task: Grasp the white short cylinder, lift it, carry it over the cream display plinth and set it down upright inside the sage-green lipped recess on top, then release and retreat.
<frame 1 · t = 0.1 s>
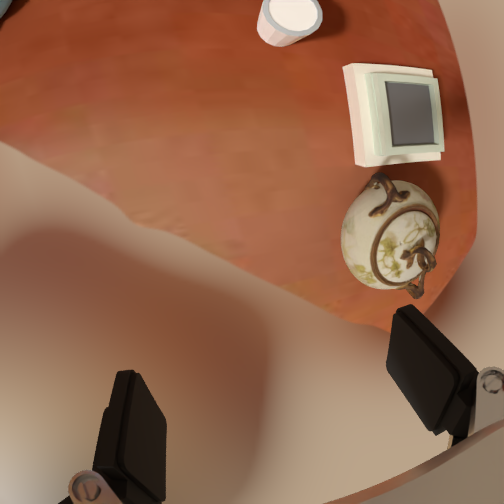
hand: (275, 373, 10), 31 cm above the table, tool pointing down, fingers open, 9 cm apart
sugar bowl: (369, 221, 44), on the table
white short cylinder: (278, 28, 31), on the table
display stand: (391, 113, 37), on the table
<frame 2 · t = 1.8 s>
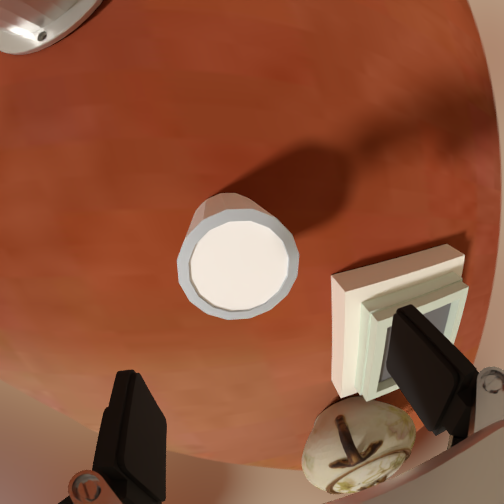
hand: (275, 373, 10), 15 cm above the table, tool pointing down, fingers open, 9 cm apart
sugar bowl: (342, 414, 36), on the table
white short cylinder: (227, 228, 23), on the table
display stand: (391, 316, 30), on the table
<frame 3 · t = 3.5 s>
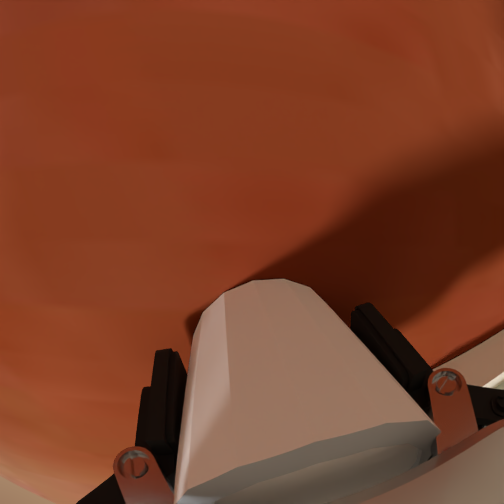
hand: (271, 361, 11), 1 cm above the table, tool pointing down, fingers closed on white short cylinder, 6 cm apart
white short cylinder: (264, 338, 12), on the table, touching gripper
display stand: (462, 401, 18), on the table
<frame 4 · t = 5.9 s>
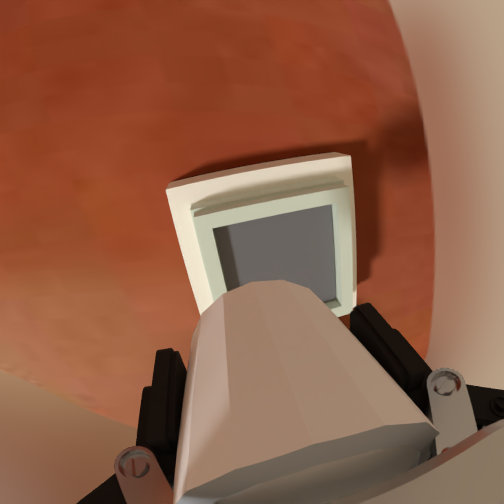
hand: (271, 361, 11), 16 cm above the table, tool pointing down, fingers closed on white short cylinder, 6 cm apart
white short cylinder: (263, 339, 12), point 15 cm above the table, touching gripper
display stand: (268, 243, 27), on the table
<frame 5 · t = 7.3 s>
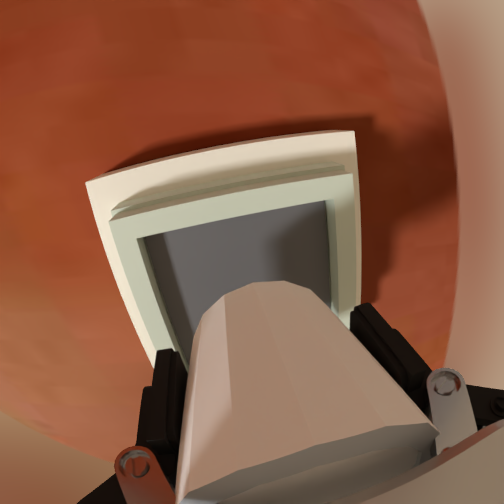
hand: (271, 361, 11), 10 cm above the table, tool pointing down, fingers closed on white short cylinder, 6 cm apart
white short cylinder: (264, 340, 12), point 8 cm above the table, touching gripper
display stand: (238, 256, 19), on the table
when the fingers open (7 cm above the table, at t = 8.3 s): white short cylinder drops 1 cm, resting on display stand.
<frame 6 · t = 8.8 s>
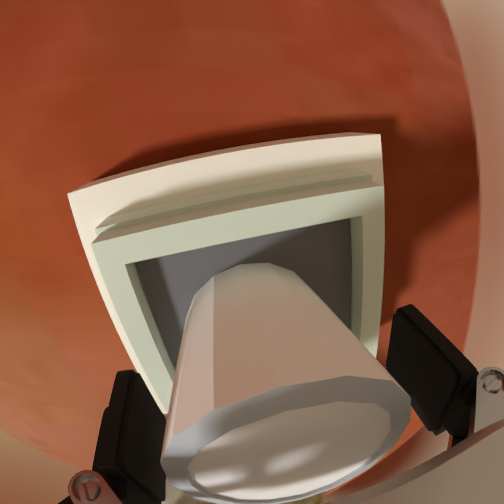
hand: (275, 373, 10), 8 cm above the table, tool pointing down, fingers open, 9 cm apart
sugar bowl: (220, 440, 23), on the table
white short cylinder: (252, 320, 13), point 5 cm above the table, touching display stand
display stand: (244, 275, 17), on the table
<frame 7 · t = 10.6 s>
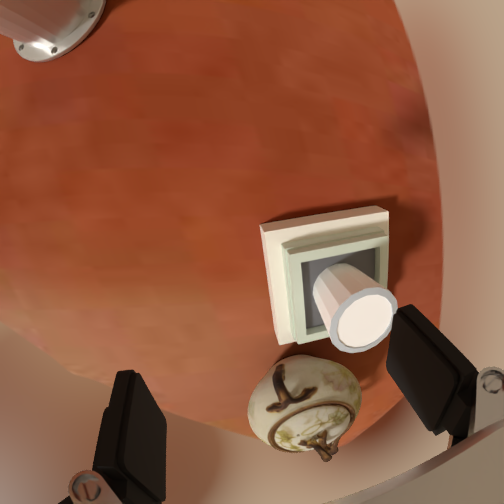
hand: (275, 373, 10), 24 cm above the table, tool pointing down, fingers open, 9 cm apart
sugar bowl: (294, 375, 41), on the table
white short cylinder: (337, 286, 32), point 5 cm above the table, touching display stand
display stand: (325, 270, 36), on the table
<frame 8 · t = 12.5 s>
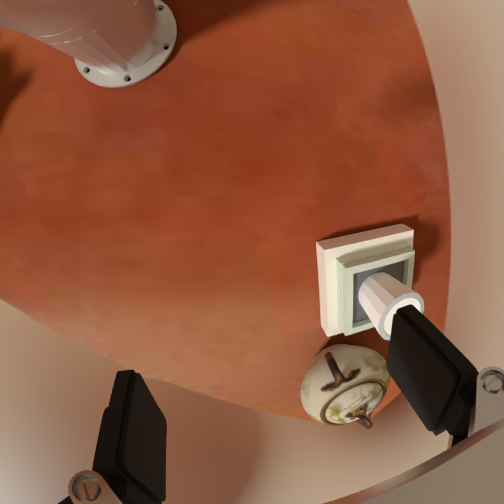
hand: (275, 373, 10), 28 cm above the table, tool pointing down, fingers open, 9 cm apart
sugar bowl: (332, 361, 49), on the table
white short cylinder: (375, 290, 39), point 5 cm above the table, touching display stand
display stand: (362, 276, 43), on the table
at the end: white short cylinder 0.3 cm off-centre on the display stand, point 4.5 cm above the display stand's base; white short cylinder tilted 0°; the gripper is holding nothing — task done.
